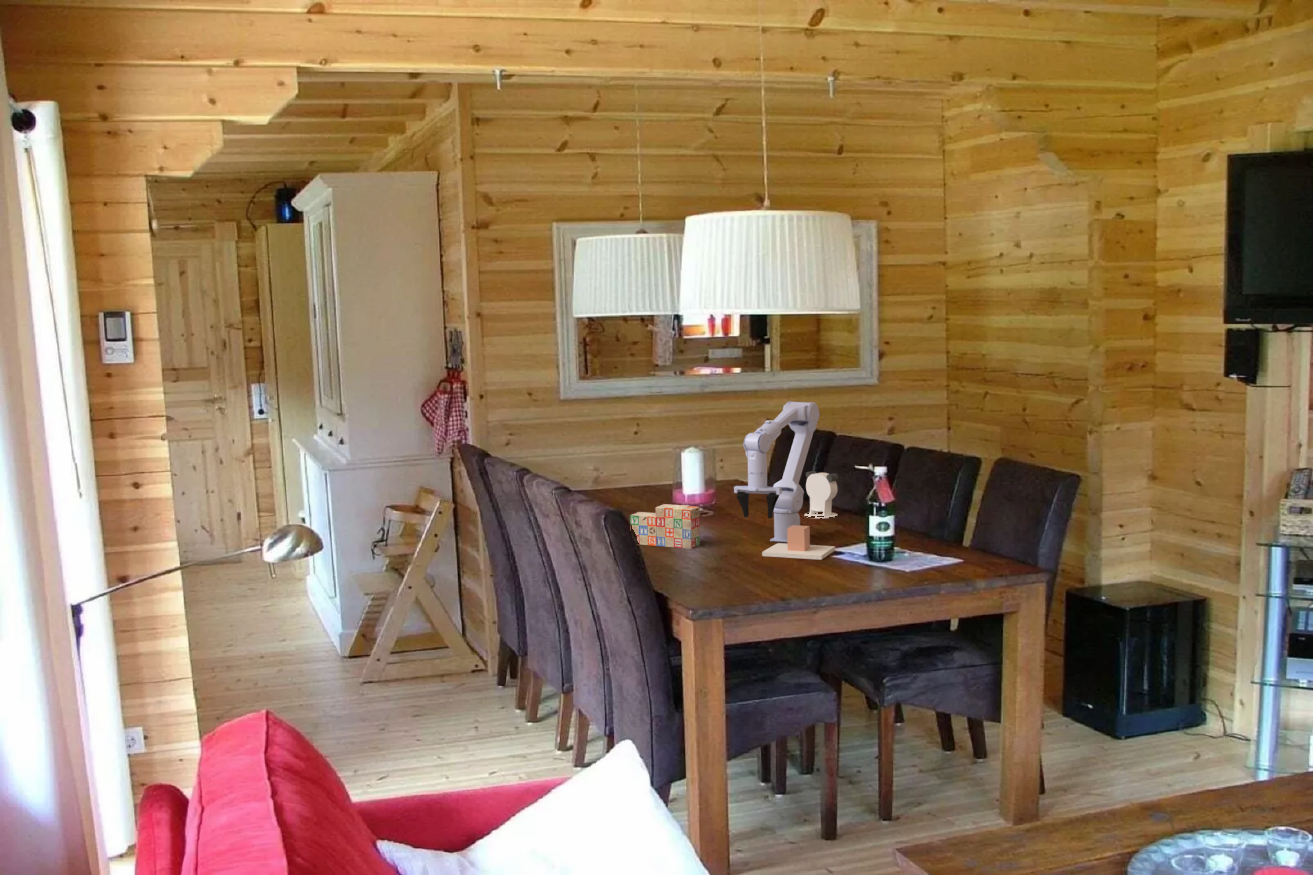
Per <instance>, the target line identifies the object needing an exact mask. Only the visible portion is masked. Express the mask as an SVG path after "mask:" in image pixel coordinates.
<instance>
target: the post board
mask: <svg viewBox="0 0 1313 875" xmlns="http://www.w3.org/2000/svg"><path fill="white" fill-rule="evenodd" d="M835 551H836V546H835V545H833V546H831V545H816V544H810V548H809V549H808V550H806V551H789V550H788V545H787V543H786V542H777V543H775V544H774V545H772V546H770V547H769V548H766V549H764V550H763V551H762V552H761V556H762V557H773V558H775V557H776V558H789V559H805V560H820V561H822V560H823V559H825V558H826V557H827V556H829V555H831V554H832V553H834V552H835Z"/></svg>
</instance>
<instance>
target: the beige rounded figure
mask: <svg viewBox="0 0 1313 875" xmlns="http://www.w3.org/2000/svg"><path fill="white" fill-rule="evenodd" d="M805 477H806V481H805V482H806V483H805V489H806V494H807V495H808V497H809V512H806V513H804V517H805V516H808V517H811V516H815V518H814V519H820V518H822V519H830V518H829V517H833V518H836V517H835V516H837V517H838V513H836V512H832V506H833V505H834V504H835V500H834V498H835V497H836V496H837V493H838V491H839V487H838V483H837V481H838V480H839V476H838V473H827V472H818V473H817V471H815V470H812V471H807V472H805ZM818 512H823V513H822V514H818ZM807 513H809V514H807ZM815 513H816V514H815ZM817 516H824V517H817ZM808 517H807V518H808Z"/></svg>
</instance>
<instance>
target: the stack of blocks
mask: <svg viewBox="0 0 1313 875" xmlns="http://www.w3.org/2000/svg"><path fill="white" fill-rule="evenodd" d="M700 520H701V517H700V506H695V505H694V506H693V505H687V504H685V505H684V504H681V505H680V504H670V503H669V504H667V503H666V504H665V503H663V504H661V505H659V506H656V507H655V512H647V511H646V512H645V511H637V512H635V513H632V514H630V515H629V523H630V524H631V525H632V529H633V530H634V532H635V534H636V536H637V541H638V543H639V544H638V545H643V546H644V545H645V546H656V547H668V548H679V549H693V548H696V547H699V546H701V536H700V535H701V532H700V531H701V530H700V528H701V527H700V525H701V521H700ZM631 525H630V526H631Z"/></svg>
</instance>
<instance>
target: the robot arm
mask: <svg viewBox="0 0 1313 875" xmlns="http://www.w3.org/2000/svg"><path fill="white" fill-rule="evenodd" d="M782 407H783V408H782V411H781V412H780V413H778V415H777V416H776V417H775V418H774V419H773V420H771V419H770V420H767V419H766V420H765V421H764V424H762V425H761V426H760V427H759V428H757V429H756V430H755V431H754V432H748V433H747V434H746V435H745V437H744V439H743V443H742V445H743V449H744V451H745V457H746V458H747V485H735V486H733V493H734V494H736V498H737V500H738V503H739V505H740V507H741V510H742V513H743V518H748V517H749V514H750V513H749V512H750V511H749V500H750V499H749V498H750V494H756V495H757V494H759V495H761V494H762V495H766V497H765V498H766V503H767V519H772V518H773V533H774V534H773V536H774V537H772V538H770V539H769V542H777V543H787V528H789V527H791V526H792V525H798V526H801V517H800V514H799V512H800V510H801V509H802V507H803V504H804V503H803V502H804V494H805V491H804V489H803V488H802V486H801V485H800V484H799V483H800V481H801V477H802V472H803V469H804V466H805V463H806V459H807V456H808V452H809V449H810V447H811V446H810V445H811V443H812V442H811V441H812V438H813V434H814V432H815V431H816V429H817V425H818V421H819V419H820V415H821V414H820V410H819V406H818V405H817V403H816V402H814V401H810V402H804V401H803V402H802V401H793V400H789V401H787V402H786V403H785V404H783V406H782ZM787 425H788V426H789V428H790V430H792V431H793V432H794V438H793V441H792V444H791V448H790V451H789V454H788V458H787V461H786V465H785V468H784V470H783V475H782V477H781V478H782V479H780V480H779V481H777V482H775V483H774V484H773V486H768V468H767V467H768V462H767V460H768V459H767V458H768V457H767V456H768V455H767V452H769V451H770V448H771V446H772V444H773V442H774V441H775V440H776V439H777V438H778V437H779V436H780V435H781V433H782V429H784V428H785V427H786V426H787Z"/></svg>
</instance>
